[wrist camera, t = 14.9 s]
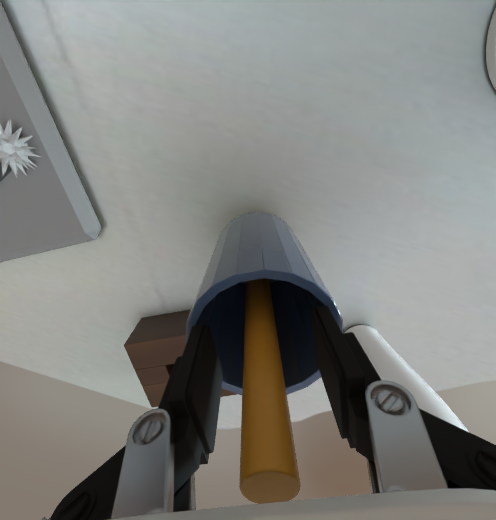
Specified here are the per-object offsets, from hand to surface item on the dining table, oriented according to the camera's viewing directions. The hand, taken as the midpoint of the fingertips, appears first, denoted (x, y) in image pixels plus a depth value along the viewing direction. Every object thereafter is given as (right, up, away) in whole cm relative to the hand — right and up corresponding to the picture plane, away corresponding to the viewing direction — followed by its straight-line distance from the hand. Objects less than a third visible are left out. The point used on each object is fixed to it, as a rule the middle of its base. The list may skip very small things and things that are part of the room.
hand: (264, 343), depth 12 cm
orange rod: (0, +4, +11) cm, 12 cm away
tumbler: (0, +5, +11) cm, 12 cm away
